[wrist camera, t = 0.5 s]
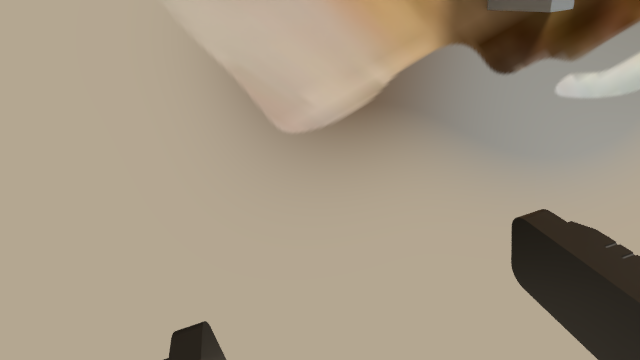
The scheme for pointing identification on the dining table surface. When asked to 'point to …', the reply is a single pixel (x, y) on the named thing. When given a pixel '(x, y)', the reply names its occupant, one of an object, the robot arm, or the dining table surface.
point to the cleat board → (530, 5)
